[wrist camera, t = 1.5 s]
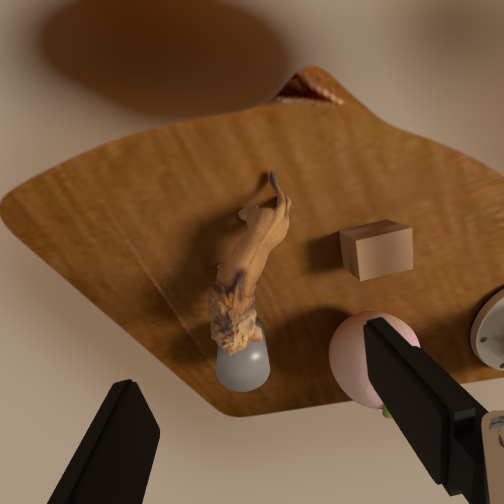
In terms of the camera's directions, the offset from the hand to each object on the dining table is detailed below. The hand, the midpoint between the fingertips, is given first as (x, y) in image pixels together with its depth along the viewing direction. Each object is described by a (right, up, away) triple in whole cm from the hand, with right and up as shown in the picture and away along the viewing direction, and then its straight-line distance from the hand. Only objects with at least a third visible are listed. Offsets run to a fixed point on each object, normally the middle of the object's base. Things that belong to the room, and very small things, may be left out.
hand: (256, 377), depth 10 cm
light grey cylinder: (-1, -4, +19) cm, 19 cm away
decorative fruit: (+11, -4, +19) cm, 23 cm away
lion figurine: (0, +5, +16) cm, 17 cm away
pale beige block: (+12, +6, +16) cm, 21 cm away
